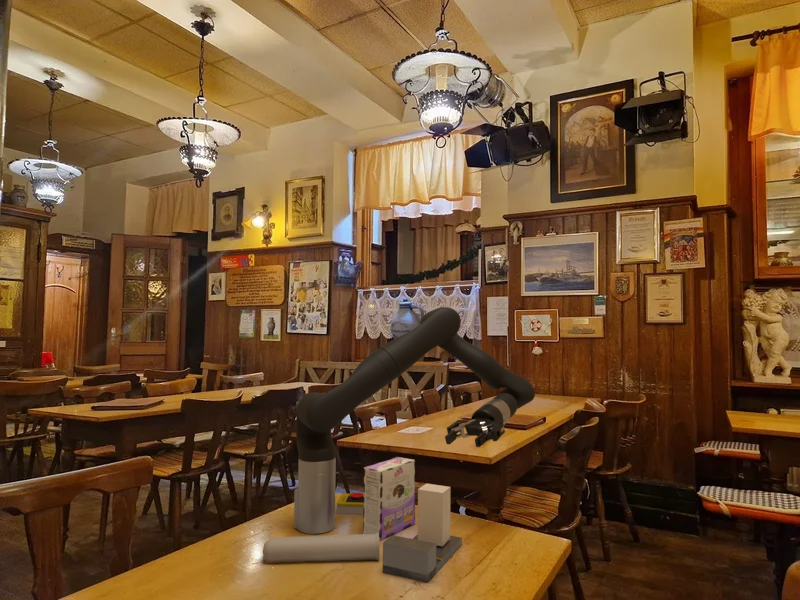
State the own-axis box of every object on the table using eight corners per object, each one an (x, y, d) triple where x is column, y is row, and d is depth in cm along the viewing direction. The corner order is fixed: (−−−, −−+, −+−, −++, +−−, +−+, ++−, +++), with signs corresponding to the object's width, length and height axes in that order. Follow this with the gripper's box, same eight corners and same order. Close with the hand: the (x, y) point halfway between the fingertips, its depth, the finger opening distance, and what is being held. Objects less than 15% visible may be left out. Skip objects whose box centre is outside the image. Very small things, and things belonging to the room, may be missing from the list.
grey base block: (382, 572, 112) (382, 542, 112) (422, 536, 131) (422, 511, 131) (427, 582, 107) (428, 551, 108) (461, 544, 126) (462, 517, 127)
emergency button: (336, 488, 155) (388, 489, 154) (336, 504, 155) (388, 505, 154) (330, 499, 146) (386, 500, 145) (330, 516, 146) (386, 517, 145)
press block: (417, 541, 123) (418, 489, 123) (426, 534, 127) (426, 483, 128) (442, 546, 120) (442, 492, 121) (450, 538, 125) (450, 486, 125)
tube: (260, 549, 114) (379, 544, 116) (264, 531, 119) (378, 527, 121) (261, 570, 115) (379, 565, 117) (265, 552, 120) (378, 547, 122)
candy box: (397, 519, 142) (398, 455, 143) (415, 524, 138) (416, 459, 139) (361, 535, 131) (362, 466, 132) (380, 541, 128) (381, 470, 128)
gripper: (466, 402, 150) (434, 426, 138) (513, 404, 142) (484, 429, 129) (471, 428, 151) (440, 453, 139) (518, 431, 143) (489, 459, 130)
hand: (461, 442), depth 134 cm, fingers open, 8 cm apart
